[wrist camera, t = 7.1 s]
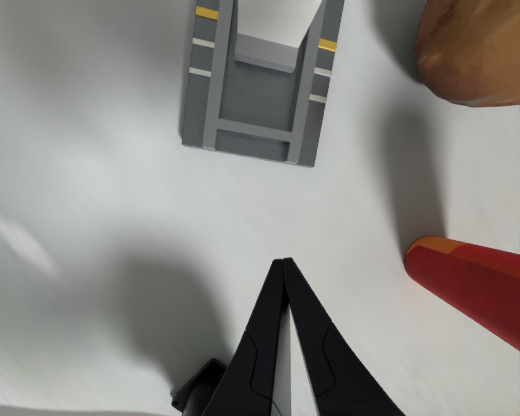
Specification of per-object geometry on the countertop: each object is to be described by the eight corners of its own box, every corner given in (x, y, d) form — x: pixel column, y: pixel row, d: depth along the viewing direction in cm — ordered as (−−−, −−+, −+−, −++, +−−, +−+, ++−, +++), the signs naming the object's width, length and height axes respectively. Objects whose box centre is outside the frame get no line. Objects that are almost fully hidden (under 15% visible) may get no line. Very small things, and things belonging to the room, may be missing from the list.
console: (309, 167, 21) (318, 166, 19) (184, 146, 20) (178, 141, 17) (341, -11, 19) (356, -36, 17) (206, -51, 18) (202, -86, 15)
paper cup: (421, 303, 25) (647, 455, 11) (382, 261, 24) (586, 375, 10) (469, 256, 25) (756, 352, 11) (433, 211, 24) (709, 256, 10)
